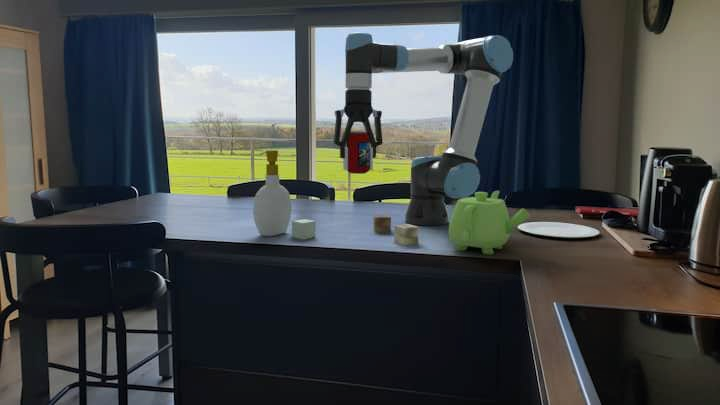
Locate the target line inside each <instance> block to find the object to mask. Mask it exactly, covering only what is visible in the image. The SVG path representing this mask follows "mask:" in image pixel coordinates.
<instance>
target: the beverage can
mask: <svg viewBox="0 0 720 405" xmlns="http://www.w3.org/2000/svg"><path fill="white" fill-rule="evenodd" d="M346 147H348V170H346V172H348V173H349V174H353V175H354V174H355V175H356V174H357V175H363V174H367V173H368V172H370V170H369V164H370V147H371V145H370V137H369V135H368V133H367V132H366V131H350V134H349V137H348V140H347V143H346Z"/></svg>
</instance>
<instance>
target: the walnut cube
mask: <svg viewBox="0 0 720 405" xmlns="http://www.w3.org/2000/svg"><path fill="white" fill-rule="evenodd" d="M391 228H392V217H391V215H390V214H373V231H374V233H376V234H377V233H382V234H384V233H386V234H387V233H390V234H391V233H392V231H391V230H392V229H391Z"/></svg>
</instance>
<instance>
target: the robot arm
mask: <svg viewBox="0 0 720 405" xmlns="http://www.w3.org/2000/svg"><path fill="white" fill-rule="evenodd" d="M344 51H345V86H344V88H345V89H346V90H345V93H344V94H345V98H344V99H345V100H344V101H345V105H344V108H343V109H338V110H337V109H336V110H335V111H334V116H335V126H334V132H333V134H334V135H333V144H334V146H338V147H339V158H340V159H342V160H343V161H342V164H343V166H342V167H343V168H342V170H344V171H347V170H348V147H347V140H348V137H349V134H350V132H352V128H353V125H354V123H362V125H363V127H364V130H365V132H367V133H368V135H369V137H370V164H369V171H372V170H373V169H374V164H373V162H374V159H376V157H377V147H378V146H382V145H383V133H382V123H381V122H382V120H381V118H382V114H383V112H382V110H377V109H374V108H373V105H372V101H373V100H372V90H371V88H372V87H373V84H372V82H373V80H372V79H373V77H372V74H380V73H381V74H384V73H385V74H386V73H413V72H439V73H440V74H443V75H444V74H451V75H453V74H454V75H463V76H465V78H466V79H467V82H466V85H465V87H464V92H463V95H462V99H461V103H460V106H459V110H458V114H457V116H456V121H455V124H454V128H453V131H452V135H451V138H450V139H451V140H450V142H449V146H448V148H447V149H446V150H444V151H443V152H442V154H441V155H433V156H420V157H415V158H413V159H412V161H411V166H410V201H409V204H408V206H407V209H406V212H405V215H404V216H405V219H404V222H405V223H406V224H410V225H414V226H441V225H442V226H443V225H447V224H448V223H449V214H448V211H447V207H446V204H445V197H449V198H452V199H463V198H468V197H471V196H472V195H473V194H475V192H476V191H477V189H478V187H479V185H480V182H481V173H480V169H479V168H478V166H477V163H478V159H477V158H476V157H475V156H476V155H475V153H476V150H477V147H478V142H479V140H480V135H481V132H482V128H483V124H484V121H485V119H486V118H485V117H486V113H487V110H488V106H489V103H490V100H491V95H492V92H493V89H494V86H495V85H497V84H498V83H500V81H501V77H502V73H504V72H507V71H508V70H509V69H510V68H511V67H512V64H513V61H514V51H513V48H512V47H511V44H510V41H509V40H508V39H507V38H506V37H504V36H502V35H499V34H498V35H497V34H496V35H488V36H484V37H479V38H473V39H467V40H463V41H461V42H460V41H459V42H456V43H451V44H442V45H440V46H439V47H417V48H415V47H414V48H410V47H409V48H407V47H406V46H404V45H401V44H397V43H383V42H382V43H381V42H374V41H373V35H372V34H370V33H368V32H351V33H348V34H347V36H346V38H345V49H344ZM344 114H345V115H346V116H347V118H348V119H347V122H346V125H345V127H344V132H343V134H342V137H341V131H342V121H343V117H344ZM371 115H372V117H373V121H374V131H373V129H372V126H371V122H370V119H369V118H370V117H371ZM373 132H375V136H374V134H373Z"/></svg>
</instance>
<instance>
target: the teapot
mask: <svg viewBox="0 0 720 405" xmlns="http://www.w3.org/2000/svg"><path fill="white" fill-rule="evenodd" d="M499 194H500V190H495V191H493V192H492V193H491V195H490V197H488V196H489V193H488V192H485V191H475V192H474V196H468V197H466V198H459V199H458V200H457V201H456V204H455V206H454V209H453V211H452V215H451V217H450V220H449V225H448V237H449V240H450V241H451V244H454V245H456V247H455V248H454V250H456V251H460V252H461V251H462V252H463V251H467V249H468V247H471V248H481V253H482V254H484V255H493V254H495V253H494V250H493V249H496V250H502V249H503V246H504V245H505V244H506V243H507V242H508V240H509V238H510V237H511V233H512V232H513V231H514V230H515V229H516V228H518V226H519V225H520V224H524V222H525V221H526V220H527V219H529V218H530V217H531V215H530V213H529V211H527V210H526V209H525V208H523V207H522V208H520V210H519V211H518V212H517V213H516V214H514V215H513V216H512V217H511V218H510V215H509V211H508V208H507V205H506V202H505V200H504V199H502V198H499Z"/></svg>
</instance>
